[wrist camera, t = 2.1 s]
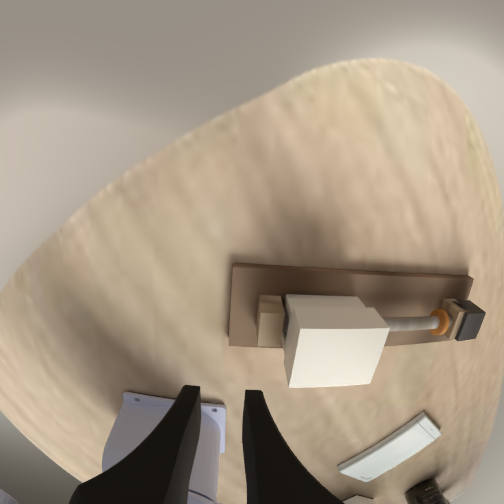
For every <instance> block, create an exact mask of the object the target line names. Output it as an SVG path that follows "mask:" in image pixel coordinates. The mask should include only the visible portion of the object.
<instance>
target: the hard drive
mask: <svg viewBox="0 0 504 504" xmlns="http://www.w3.org/2000/svg"><path fill="white" fill-rule="evenodd" d="M441 434H442V433H441V431H440V429H439V428H438V427H437V426H436V425H435V424H434V423H433V422H432V421H431V420H430V418H429V417H428V416H427V415H426V414H425V413H424V412H422V413H421V414H419V415H418V416H417V417H415V418H414V419H413V420H411V421H410V422H408V423H407V424H406V425H404V426H403V427H401V428H400V429H399V430H397V431H396V432H394V433H393V434H391V435H390V436H388V437H387V438H385V439H383V440H382V441H380V442H379V443H377V444H376V445H374V446H372V447H371V448H369V449H367V450H366V451H364V452H362V453H360V454H359V455H357V456H355V457H353V458H352V459H350V460H348V461H346V462H344V463H342V464H340V465H338V470H339V472H341V473H343V474H345V475H348V476H350V477H353V478H356V479H358V480H361V481H364V482H368V481H370V480H372V479H374V478H376V477H378V476H379V475H381V474H383V473H385V472H386V471H388V470H390V469H392V468H393V467H395V466H397V465H398V464H400V463H401V462H403V461H405V460H406V459H408V458H409V457H411V456H412V455H414V454H415V453H417V452H418V451H420V450H421V449H423V448H424V447H425V446H427V445H428V444H430V443H431V442H432V441H434V440H435V439H436V438H438V437H439V436H440V435H441Z"/></svg>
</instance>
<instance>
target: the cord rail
mask: <svg viewBox="0 0 504 504" xmlns="http://www.w3.org/2000/svg"><path fill="white" fill-rule="evenodd" d="M473 280H474V279H473V278H471V277H470V276H465V275H442V274H420V273H399V272H379V271H361V270H343V269H325V268H308V267H292V266H276V265H260V264H245V263H233V272H232V289H231V308H230V327H229V346H242V347H263V348H283V343H282V338H281V337H282V332H287V330H288V324H289V317H287V316H285V312H284V306H285V299H286V294H297V295H321V296H354V297H358V298H359V299H360V300H361V301H362V303H363V304H364V305H365V307H366V308H374V309H375V310H376V311H377V312H378V314H379V315H380V316H381V317H382V319H383V320H384V321H385V322H386V324H387V325H388V326H389V327H390V329H389V332H388V336H387V339H386V341H385V344H384V346H396V345H409V344H420V343H429V342H438V341H447V340H453V339H456V340H457V341H463V340H469V339H475V338H476V336H477V334H478V332H479V329H480V327H481V324H482V322H483V319H484V316H485V314H486V312H484V311H483V310H482V309H480V308H479V307H478V306H476V305H475V304H474V303H473V302H471V301H470V300H467V299H468V296H469V293H470V290H471V287H472V283H473Z"/></svg>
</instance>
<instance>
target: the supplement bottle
mask: <svg viewBox="0 0 504 504" xmlns="http://www.w3.org/2000/svg"><path fill="white" fill-rule="evenodd" d="M405 498H406V501H407V503H408V504H447V502H446V500H445V498H444V495H443V493H442V491H441V489H440V487H439V485H438V483H437V481H436V480H435V479H429V480H426V481H424V482H421V483H420V484H418V485H416V486H414V487H413V488H411V489H410V490H409V491H408V492H407V493H406V495H405Z"/></svg>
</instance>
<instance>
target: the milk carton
mask: <svg viewBox="0 0 504 504" xmlns="http://www.w3.org/2000/svg"><path fill="white" fill-rule="evenodd" d="M343 502H344V503H345V504H376V503H375V500H373V499H369V498H365V497H361V496H358V495H356V496H354V497H352V498H350V499H347V500H345V501H343Z"/></svg>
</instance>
